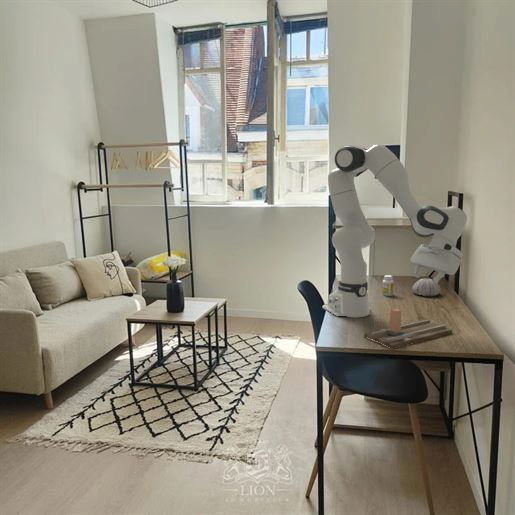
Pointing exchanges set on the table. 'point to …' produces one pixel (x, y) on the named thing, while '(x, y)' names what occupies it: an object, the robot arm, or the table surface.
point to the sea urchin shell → (426, 287)
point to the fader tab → (395, 323)
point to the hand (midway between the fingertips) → (425, 279)
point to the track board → (410, 333)
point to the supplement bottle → (387, 285)
